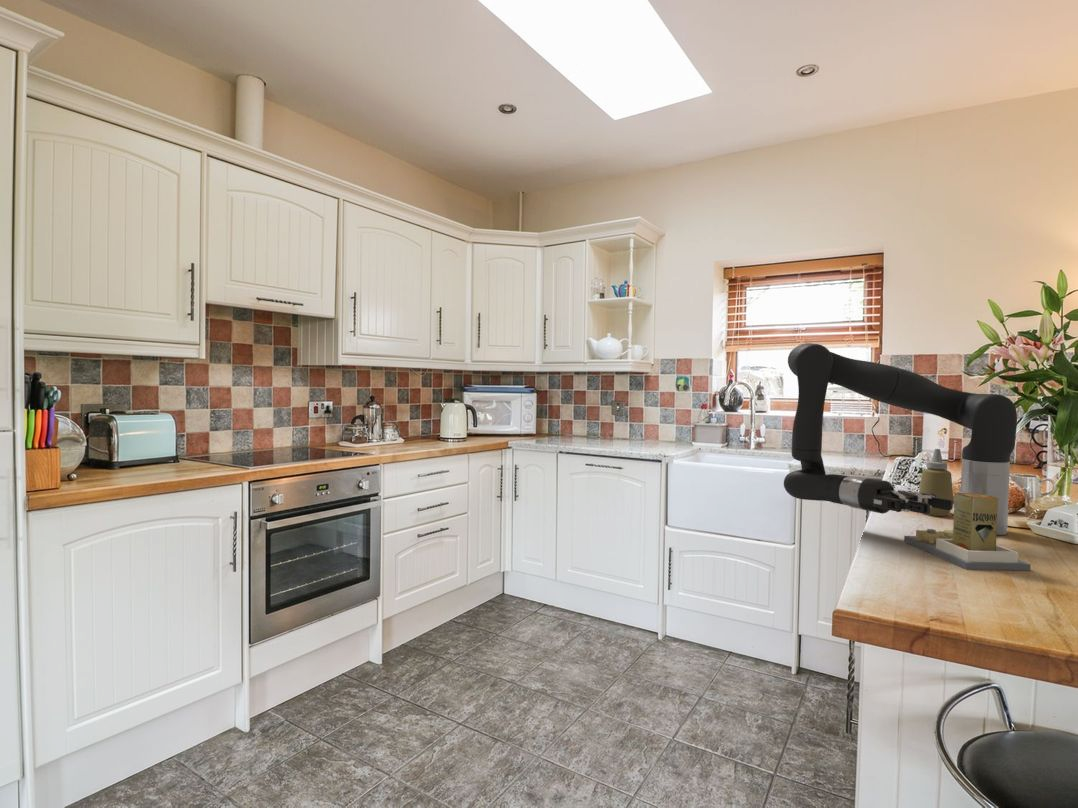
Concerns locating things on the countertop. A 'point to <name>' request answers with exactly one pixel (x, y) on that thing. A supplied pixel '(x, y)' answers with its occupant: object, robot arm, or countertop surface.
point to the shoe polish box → (975, 521)
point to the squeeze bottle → (937, 482)
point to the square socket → (977, 553)
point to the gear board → (928, 543)
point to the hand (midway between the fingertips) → (940, 507)
